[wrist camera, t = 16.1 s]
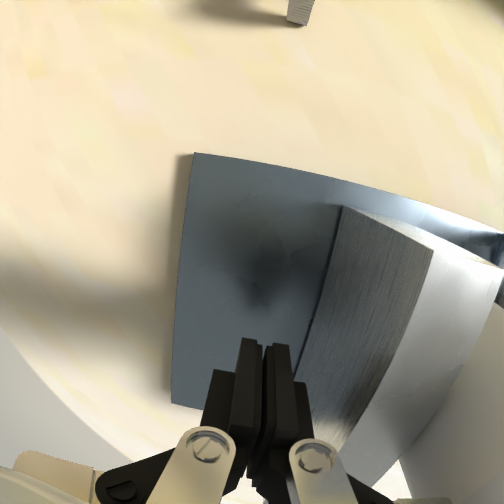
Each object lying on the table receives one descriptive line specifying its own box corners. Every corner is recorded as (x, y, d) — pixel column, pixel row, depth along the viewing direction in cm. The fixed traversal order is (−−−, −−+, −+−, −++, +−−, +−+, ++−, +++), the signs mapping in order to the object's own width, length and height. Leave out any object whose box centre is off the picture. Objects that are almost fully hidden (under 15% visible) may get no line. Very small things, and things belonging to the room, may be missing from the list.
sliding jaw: (280, 415, 15) (283, 519, 8) (343, 204, 11) (434, 250, 5) (325, 418, 15) (343, 516, 8) (400, 219, 11) (510, 272, 5)
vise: (175, 392, 16) (137, 496, 9) (199, 153, 12) (110, 135, 5) (431, 411, 16) (470, 485, 9) (510, 236, 13) (600, 278, 5)
